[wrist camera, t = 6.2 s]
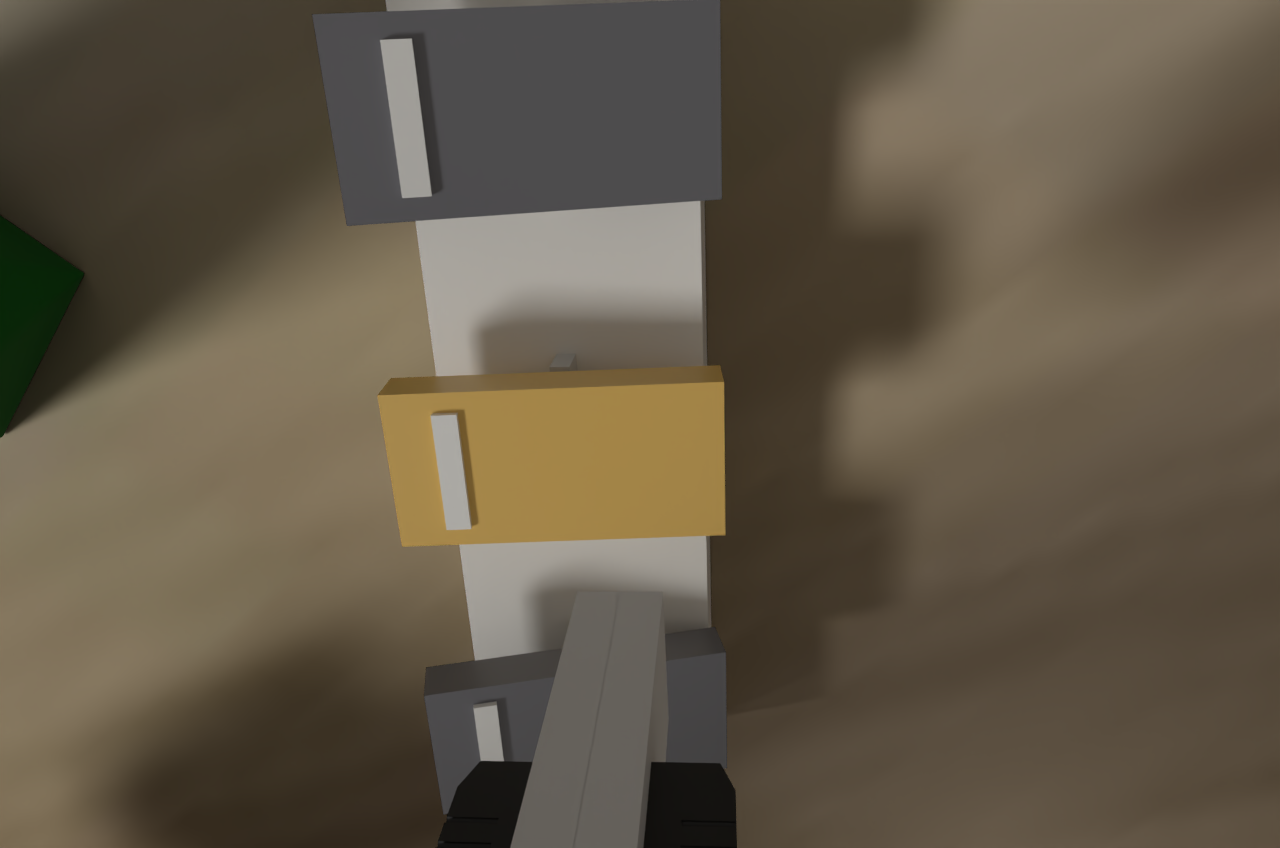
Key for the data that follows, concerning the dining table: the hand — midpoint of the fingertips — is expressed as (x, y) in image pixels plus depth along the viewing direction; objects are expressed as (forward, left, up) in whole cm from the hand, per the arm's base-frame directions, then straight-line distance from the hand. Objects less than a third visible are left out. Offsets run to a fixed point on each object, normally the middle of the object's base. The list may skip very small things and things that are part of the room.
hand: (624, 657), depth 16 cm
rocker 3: (-2, -7, -7) cm, 10 cm away
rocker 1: (-2, +9, -7) cm, 11 cm away
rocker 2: (-2, +1, -7) cm, 7 cm away
